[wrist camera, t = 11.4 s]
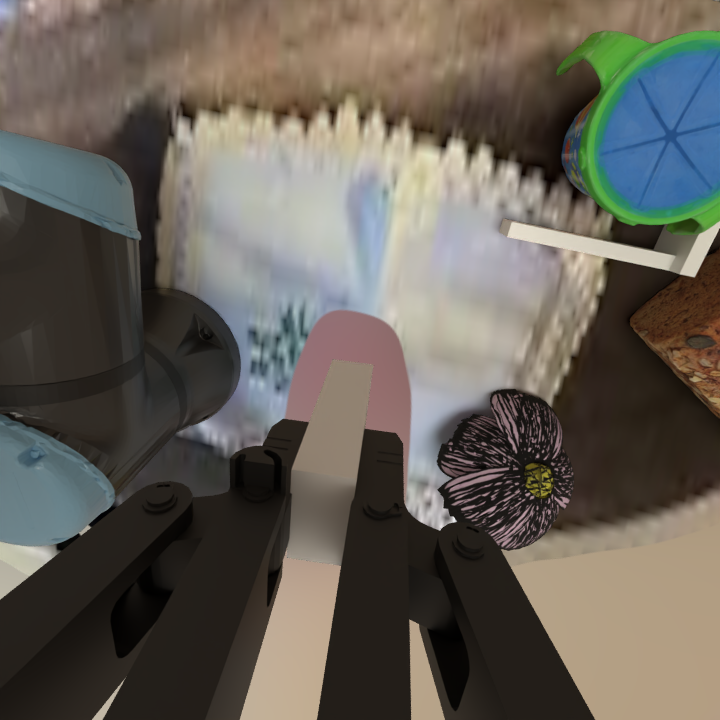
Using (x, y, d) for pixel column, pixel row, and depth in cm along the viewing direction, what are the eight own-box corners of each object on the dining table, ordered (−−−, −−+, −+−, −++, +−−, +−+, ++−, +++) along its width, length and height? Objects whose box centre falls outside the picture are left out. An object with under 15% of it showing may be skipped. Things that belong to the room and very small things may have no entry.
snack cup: (713, 186, 36) (821, 188, 26) (591, 263, 39) (648, 288, 29) (627, 5, 32) (718, -68, 22) (500, 107, 35) (533, 80, 26)
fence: (499, 232, 39) (511, 238, 34) (585, -47, 31) (615, -87, 26) (660, 265, 38) (694, 277, 34) (788, -8, 30) (855, -42, 26)
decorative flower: (651, 515, 37) (503, 607, 37) (582, 478, 49) (470, 548, 49) (561, 371, 37) (414, 463, 37) (514, 369, 49) (402, 439, 49)
